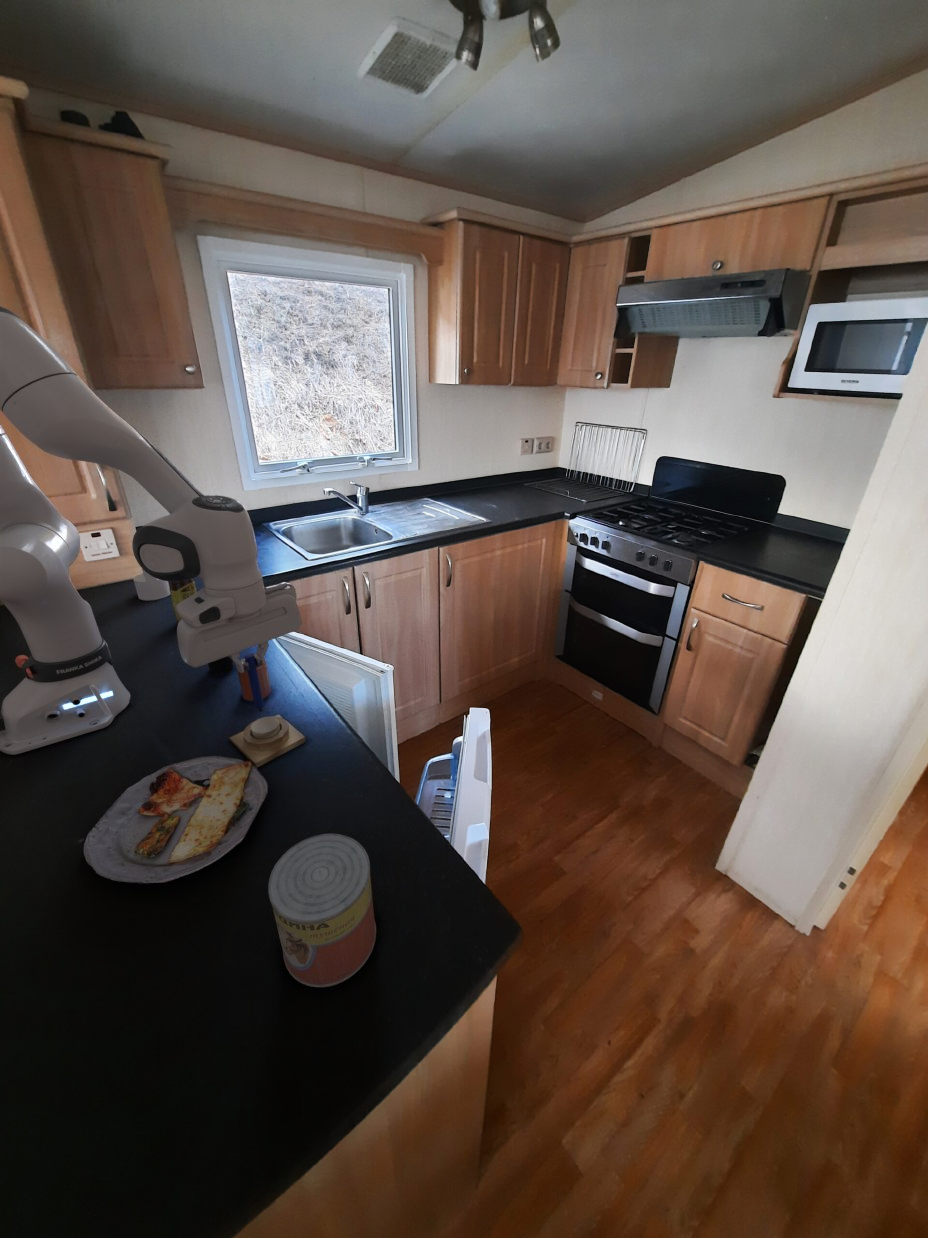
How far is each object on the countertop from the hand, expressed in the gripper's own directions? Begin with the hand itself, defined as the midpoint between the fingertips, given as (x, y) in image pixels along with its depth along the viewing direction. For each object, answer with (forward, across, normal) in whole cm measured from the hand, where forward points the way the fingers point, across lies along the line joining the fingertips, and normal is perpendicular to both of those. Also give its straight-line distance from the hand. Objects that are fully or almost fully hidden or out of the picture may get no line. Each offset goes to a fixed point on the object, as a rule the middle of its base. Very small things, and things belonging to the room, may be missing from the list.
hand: (251, 667), depth 90 cm
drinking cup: (+16, -5, -30) cm, 34 cm away
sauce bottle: (+16, -10, -61) cm, 64 cm away
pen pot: (+16, -6, -15) cm, 23 cm away
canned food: (+16, +13, +41) cm, 46 cm away
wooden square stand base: (+16, 0, +1) cm, 16 cm away
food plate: (+16, +18, +9) cm, 26 cm away
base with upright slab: (+16, -10, -88) cm, 90 cm away
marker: (+10, 0, 0) cm, 10 cm away
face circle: (+13, 0, +1) cm, 14 cm away
